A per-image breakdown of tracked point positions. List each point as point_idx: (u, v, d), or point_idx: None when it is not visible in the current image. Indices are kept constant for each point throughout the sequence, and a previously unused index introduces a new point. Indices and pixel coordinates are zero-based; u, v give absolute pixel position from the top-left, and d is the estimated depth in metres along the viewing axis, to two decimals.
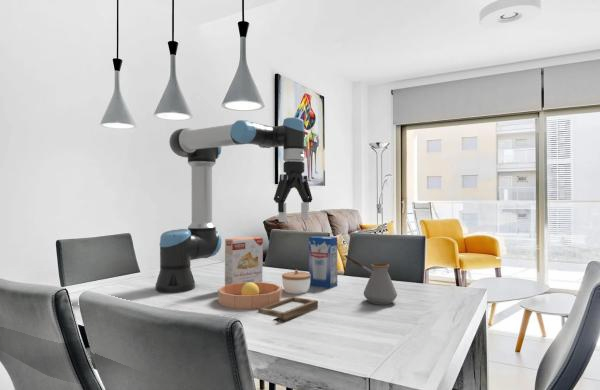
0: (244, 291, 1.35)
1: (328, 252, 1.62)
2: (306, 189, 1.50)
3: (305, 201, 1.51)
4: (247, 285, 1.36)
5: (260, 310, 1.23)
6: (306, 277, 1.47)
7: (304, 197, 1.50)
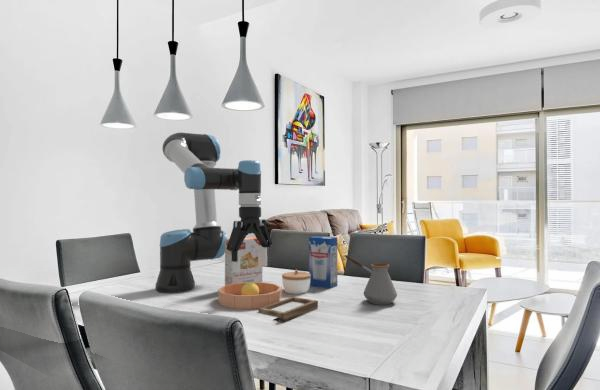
0: (244, 291, 1.35)
1: (328, 252, 1.62)
2: (265, 233, 1.43)
3: (264, 246, 1.43)
4: (247, 285, 1.36)
5: (260, 310, 1.23)
6: (306, 277, 1.47)
7: (262, 242, 1.42)
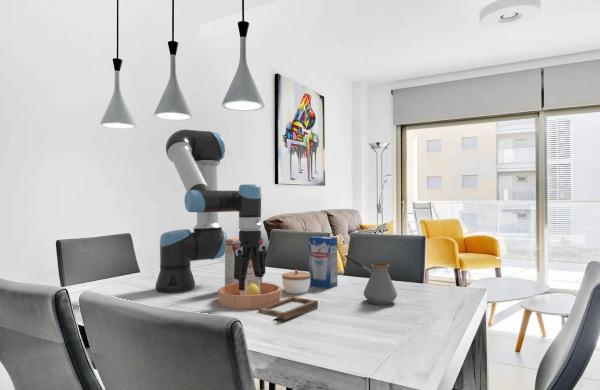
0: None
1: (328, 252, 1.62)
2: (261, 260, 1.42)
3: (257, 275, 1.41)
4: (247, 285, 1.36)
5: (260, 310, 1.23)
6: (306, 277, 1.47)
7: (257, 270, 1.40)
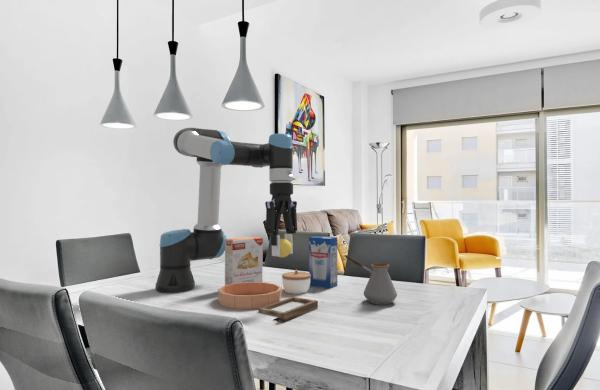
0: None
1: (328, 252, 1.62)
2: (292, 216, 1.34)
3: (289, 232, 1.32)
4: None
5: (260, 310, 1.23)
6: (306, 277, 1.47)
7: (288, 226, 1.32)
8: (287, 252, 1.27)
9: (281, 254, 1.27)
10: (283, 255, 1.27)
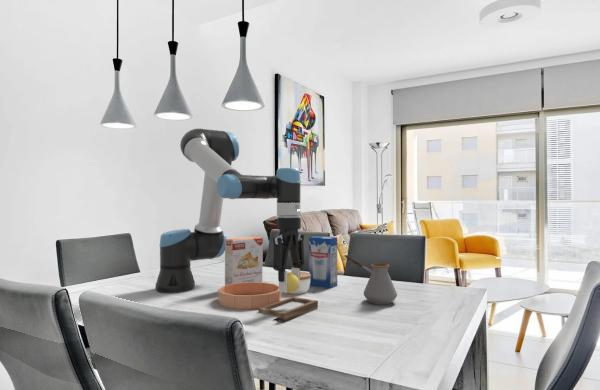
0: None
1: (328, 252, 1.62)
2: (300, 250, 1.32)
3: (296, 266, 1.31)
4: (287, 276, 1.26)
5: (260, 310, 1.23)
6: (306, 277, 1.47)
7: (296, 260, 1.30)
8: (294, 288, 1.26)
9: (288, 290, 1.26)
10: (290, 291, 1.26)
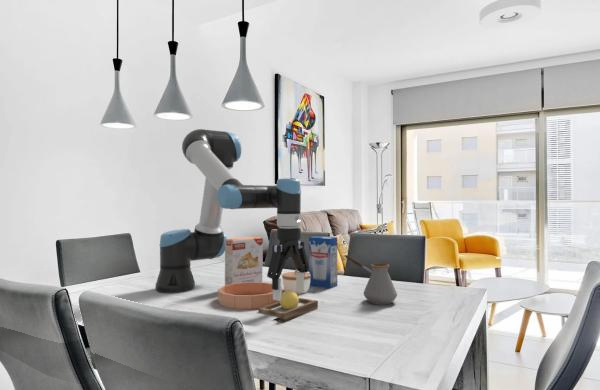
0: (284, 300, 1.26)
1: (328, 252, 1.62)
2: (302, 257, 1.34)
3: (300, 271, 1.33)
4: (286, 294, 1.27)
5: (260, 310, 1.23)
6: (306, 277, 1.47)
7: (299, 266, 1.32)
8: (294, 306, 1.26)
9: (288, 308, 1.26)
10: None
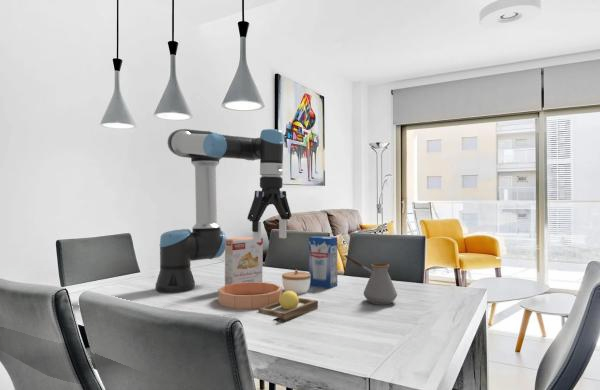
0: (283, 300, 1.26)
1: (328, 252, 1.62)
2: (285, 205, 1.41)
3: (283, 218, 1.41)
4: (286, 294, 1.27)
5: (260, 310, 1.23)
6: (306, 277, 1.47)
7: (282, 214, 1.40)
8: (294, 306, 1.26)
9: (288, 308, 1.26)
10: None
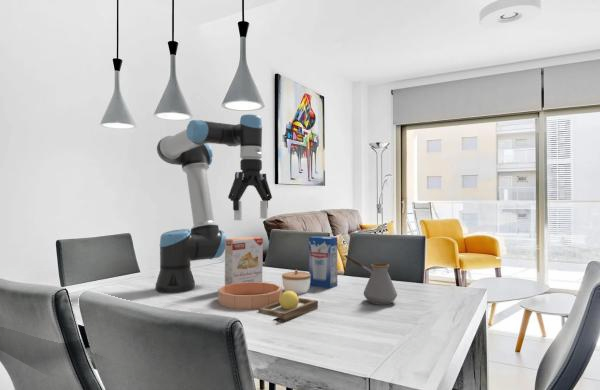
0: (283, 300, 1.26)
1: (328, 252, 1.62)
2: (265, 187, 1.48)
3: (264, 199, 1.49)
4: (286, 294, 1.26)
5: (260, 310, 1.23)
6: (306, 277, 1.47)
7: (263, 195, 1.48)
8: (294, 306, 1.26)
9: (288, 308, 1.26)
10: (290, 309, 1.26)
